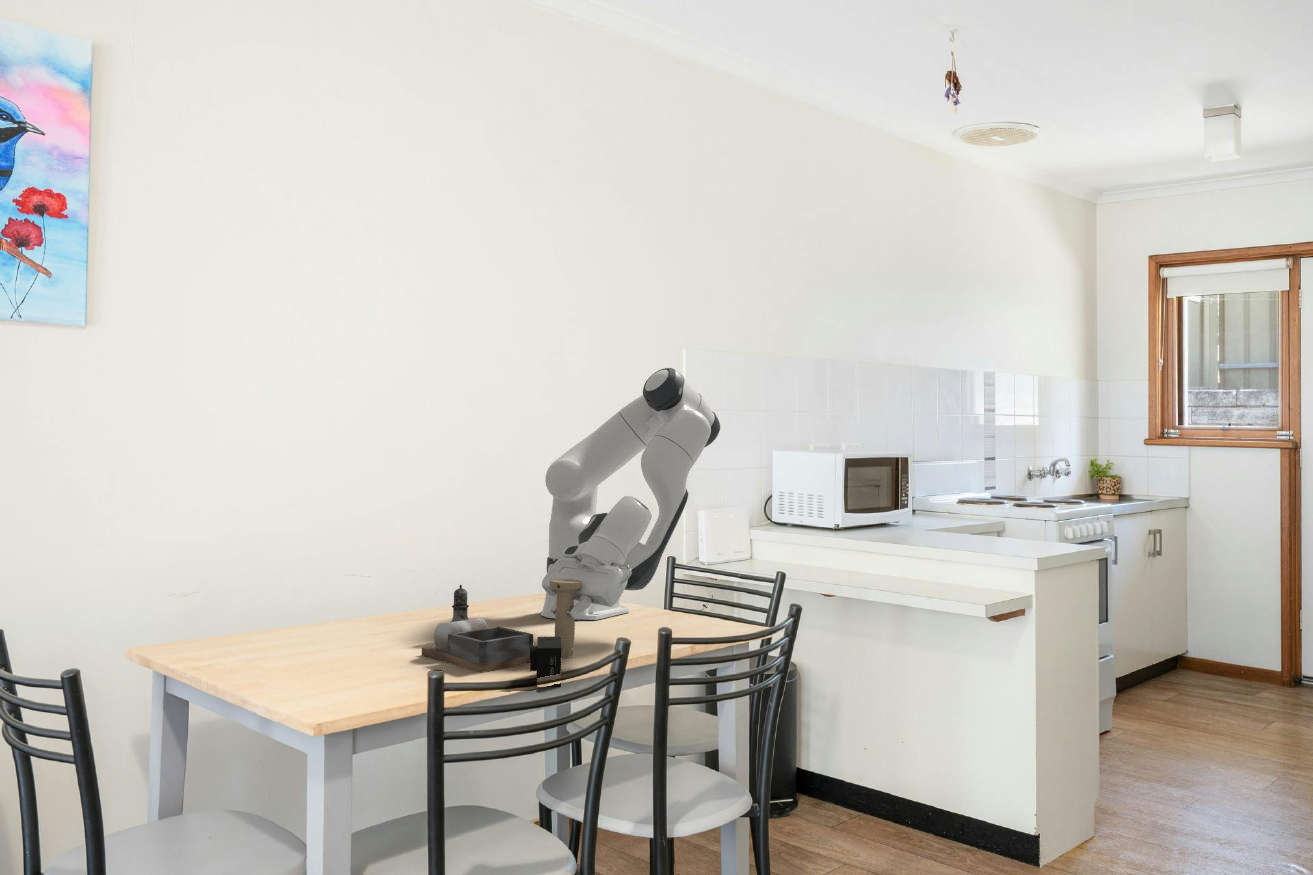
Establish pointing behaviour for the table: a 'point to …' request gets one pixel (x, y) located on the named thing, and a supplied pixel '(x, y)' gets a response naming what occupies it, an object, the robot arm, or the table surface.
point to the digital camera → (546, 657)
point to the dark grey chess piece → (460, 605)
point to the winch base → (479, 645)
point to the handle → (565, 613)
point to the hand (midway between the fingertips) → (562, 614)
